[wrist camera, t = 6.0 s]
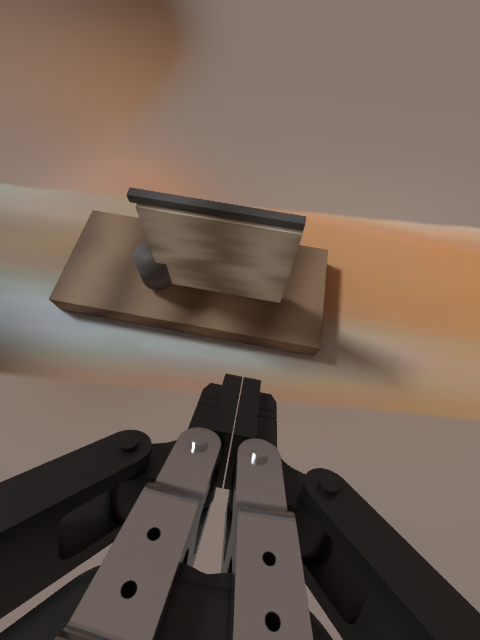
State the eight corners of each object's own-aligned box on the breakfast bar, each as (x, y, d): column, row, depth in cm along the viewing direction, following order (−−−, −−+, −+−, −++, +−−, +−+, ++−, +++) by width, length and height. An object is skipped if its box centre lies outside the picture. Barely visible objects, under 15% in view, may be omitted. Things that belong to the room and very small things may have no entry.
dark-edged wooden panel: (137, 286, 27) (95, 205, 19) (147, 259, 29) (113, 170, 20) (278, 311, 27) (303, 240, 18) (282, 282, 28) (307, 201, 19)
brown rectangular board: (59, 309, 29) (46, 296, 27) (100, 224, 34) (91, 207, 31) (314, 355, 28) (321, 346, 26) (322, 261, 33) (329, 247, 31)
